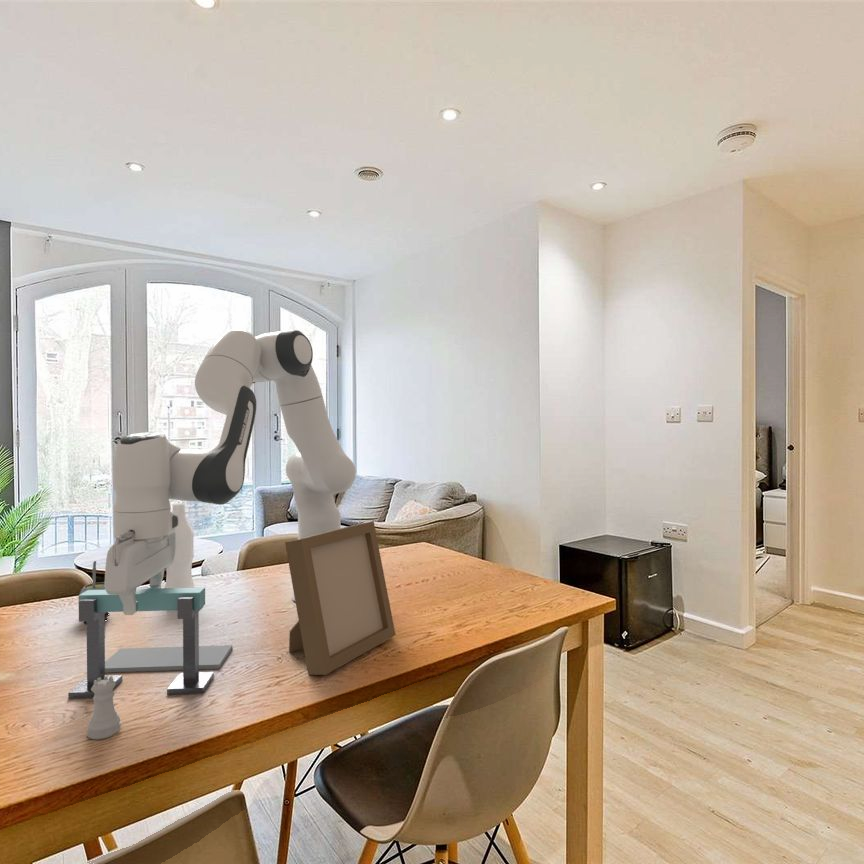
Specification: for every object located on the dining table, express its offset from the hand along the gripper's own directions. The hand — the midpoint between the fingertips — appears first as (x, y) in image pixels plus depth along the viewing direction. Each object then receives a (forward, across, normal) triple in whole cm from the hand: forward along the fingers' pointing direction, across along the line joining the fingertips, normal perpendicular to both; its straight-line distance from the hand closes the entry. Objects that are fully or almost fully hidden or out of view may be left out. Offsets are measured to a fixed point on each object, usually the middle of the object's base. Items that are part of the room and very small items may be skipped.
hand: (143, 604), depth 97 cm
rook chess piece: (+15, -14, 0) cm, 21 cm away
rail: (+1, 0, 0) cm, 1 cm away
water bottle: (+15, +48, +11) cm, 51 cm away
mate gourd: (+15, +35, +25) cm, 46 cm away
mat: (+15, +11, 0) cm, 18 cm away
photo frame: (+15, +13, -32) cm, 38 cm away
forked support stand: (+15, 0, 0) cm, 15 cm away
